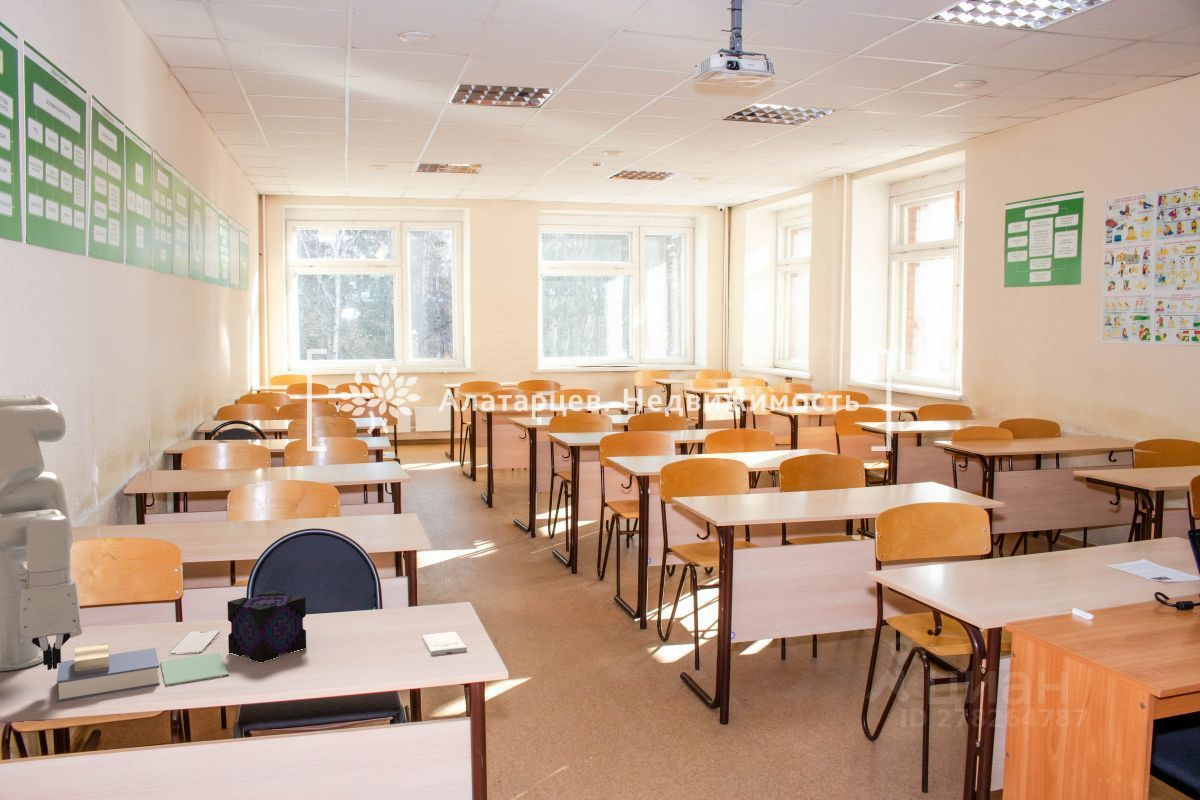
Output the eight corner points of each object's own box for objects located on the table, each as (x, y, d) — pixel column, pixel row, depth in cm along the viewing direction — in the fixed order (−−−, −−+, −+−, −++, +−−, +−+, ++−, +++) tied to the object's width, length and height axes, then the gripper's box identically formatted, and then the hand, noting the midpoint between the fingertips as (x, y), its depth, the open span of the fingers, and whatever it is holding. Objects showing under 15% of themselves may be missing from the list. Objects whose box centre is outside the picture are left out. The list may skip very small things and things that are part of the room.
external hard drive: (456, 637, 216) (467, 653, 204) (421, 641, 213) (431, 657, 202) (456, 631, 216) (466, 646, 204) (421, 635, 213) (430, 650, 202)
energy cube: (274, 639, 214) (273, 590, 213) (306, 648, 207) (305, 597, 207) (228, 653, 204) (227, 601, 203) (260, 663, 197) (259, 609, 197)
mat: (160, 663, 197) (160, 661, 197) (219, 654, 203) (219, 652, 203) (165, 686, 183) (165, 684, 183) (228, 675, 189) (228, 673, 189)
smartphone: (167, 653, 203) (189, 631, 218) (167, 658, 203) (189, 636, 218) (201, 652, 204) (220, 630, 219) (201, 657, 204) (220, 634, 219)
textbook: (59, 681, 187) (58, 662, 186) (155, 666, 195) (155, 648, 195) (57, 701, 175) (56, 681, 175) (159, 684, 184) (159, 665, 184)
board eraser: (75, 661, 187) (75, 647, 186) (108, 656, 190) (107, 642, 189) (74, 676, 178) (74, 661, 178) (109, 671, 181) (108, 656, 181)
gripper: (2, 586, 172) (6, 679, 173) (92, 576, 180) (94, 666, 181) (6, 578, 179) (9, 668, 180) (92, 569, 186) (95, 656, 187)
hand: (52, 667), depth 180 cm, fingers closed
